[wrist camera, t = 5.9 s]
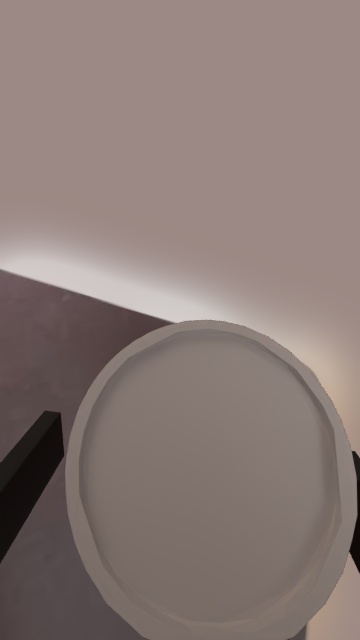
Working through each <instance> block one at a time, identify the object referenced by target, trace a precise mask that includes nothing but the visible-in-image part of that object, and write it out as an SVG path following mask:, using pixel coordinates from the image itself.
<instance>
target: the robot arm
mask: <svg viewBox="0 0 360 640" xmlns="http://www.w3.org/2000/svg"><path fill="white" fill-rule="evenodd" d="M352 456H353V461H354V466H355V472H356V477H357V519H356V523H355V528H354V533H353V538H352V543H351V546H350V550H349V552H350V554H351V556H352V558H353V560H354V562H355V565H356V567H357V569H358V571H359V573H360V458H359V456H358V455H357V454H356V452H355V451H352ZM63 457H64V447H63V435H62V423H61V413H59V412H51V411H44V412H43V414H42V415H41V416H40V417H39V418H38V419H37V421H36V422H35V423H34V424H33V425H32V427H31V428H30V429H29V430H28V431H27V432H26V434H25V435H24V436H23V437H22V438H21V440H20V441H19V442H18V443H17V444H16V445H15V447H14V448H13V449H12V450H11V451H10V453H9V454H8V455H7V456H6V457H5V458H4V460H3V461H2V462H1V463H0V563H1V561H2V560H3V558H4V556H5V555H6V553H7V551H8V549H9V548H10V546H11V544H12V543H13V541H14V539H15V538H16V536H17V534H18V533H19V531H20V529H21V528H22V526H23V524H24V522H25V521H26V519H27V517H28V516H29V514H30V512H31V511H32V509H33V507H34V506H35V504H36V502H37V501H38V499H39V497H40V495H41V494H42V492H43V490H44V489H45V487H46V485H47V484H48V482H49V480H50V479H51V477H52V475H53V474H54V472H55V470H56V468H57V467H58V465H59V463H60V462H61V460H62V458H63Z"/></svg>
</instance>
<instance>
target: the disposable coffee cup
mask: <svg viewBox="0 0 360 640" xmlns="http://www.w3.org/2000/svg"><path fill="white" fill-rule="evenodd" d="M65 478H66V499H67V511H68V517H69V521H70V525H71V529H72V533H73V537H74V541H75V545H76V547H77V550H78V552H79V554H80V557H81V559H82V562H83V564H84V567H85V569H86V571H87V573H88V574H89V576H90V577H91V579H92V581H93V582H94V584H95V585H96V587H97V589H98V590H99V592H100V593H101V595H102V597H103V598H104V600H105V601H106V603H107V604H108V605H109V606H110V607H111V608H112V609H113V610H115V611H116V612H117V613H118V614H119V615H120V616H121V617H122V618H123V619H124V620H125V621H126V622H127V623H128V624H129V625H131V626H132V627H133V628H134V629H135V630H136V631H137V632H138V633H139V634H140V635H141V636H142V637H145V638H147V639H149V640H287V639H289V638H291V637H294V636H295V635H296V634H297V633H298V632H299V631H300V630H301V629H302V628H303V627H304V626H305V625H306V624H307V623H308V621H309V620H310V619H311V618H312V617H313V616H314V615H315V614H316V613H317V612H318V611H319V610H320V609H321V608H322V607H323V606H324V605H325V604H326V602H327V600H328V598H329V597H330V595H331V593H332V591H333V590H334V588H335V586H336V584H337V582H338V580H339V579H340V577H341V575H342V573H343V571H344V568H345V564H346V560H347V557H348V553H349V550H350V546H351V543H352V538H353V533H354V528H355V523H356V519H357V477H356V472H355V466H354V461H353V456H352V451H351V446H350V442H349V440H348V437H347V434H346V431H345V429H344V426H343V423H342V420H341V418H340V416H339V414H338V412H337V410H336V408H335V406H334V404H333V402H332V400H331V399H330V397H329V396H328V394H327V393H326V391H325V390H324V389H323V387H322V386H321V384H320V383H319V381H318V380H317V378H316V377H315V375H314V374H313V373H312V372H311V371H310V370H309V369H308V368H307V367H306V366H305V365H304V364H303V363H302V362H301V361H300V360H299V359H297V358H296V357H295V356H294V355H293V354H292V353H291V352H290V351H289V350H287V349H286V348H284V347H283V346H281V345H280V344H278V343H277V342H275V341H274V340H273V339H271V338H269V337H268V336H266V335H263V334H261V333H258V332H256V331H254V330H252V329H249V328H247V327H245V326H240V325H237V324H233V323H228V322H224V321H214V320H196V321H184V322H180V323H176V324H172V325H167V326H164V327H162V328H159V329H157V330H154V331H152V332H149V333H148V334H146V335H144V336H142V337H141V338H139V339H137V340H135V341H134V342H132V343H131V344H129V345H128V346H127V347H125V348H124V349H122V350H121V351H120V352H119V353H118V354H117V355H116V356H115V357H114V358H113V359H112V360H110V361H109V362H108V363H107V365H106V366H105V367H104V368H103V370H102V371H101V372H100V373H99V375H98V376H97V377H96V379H95V380H94V382H93V383H92V385H91V386H90V388H89V389H88V391H87V393H86V395H85V397H84V399H83V401H82V403H81V405H80V407H79V409H78V412H77V415H76V418H75V421H74V424H73V427H72V430H71V434H70V439H69V445H68V451H67V456H66V469H65Z"/></svg>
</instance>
